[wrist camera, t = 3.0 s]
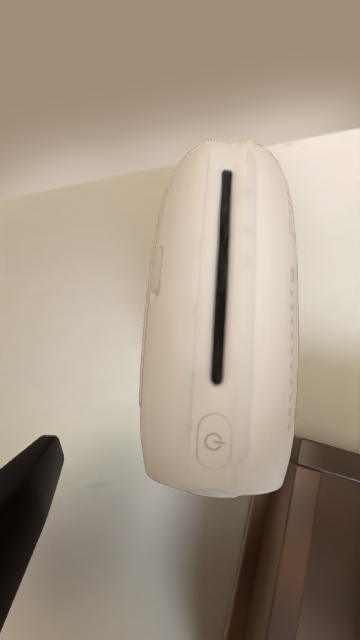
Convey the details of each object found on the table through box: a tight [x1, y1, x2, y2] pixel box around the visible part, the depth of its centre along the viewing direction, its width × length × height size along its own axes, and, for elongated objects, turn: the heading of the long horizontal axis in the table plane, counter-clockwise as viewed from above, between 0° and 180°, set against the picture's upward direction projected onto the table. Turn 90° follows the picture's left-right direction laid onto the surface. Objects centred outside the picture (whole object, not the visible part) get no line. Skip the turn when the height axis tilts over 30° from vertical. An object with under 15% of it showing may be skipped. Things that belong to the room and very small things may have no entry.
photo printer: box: [139, 140, 299, 498], centre depth 13 cm, size 10×4×12 cm, turn 175°
